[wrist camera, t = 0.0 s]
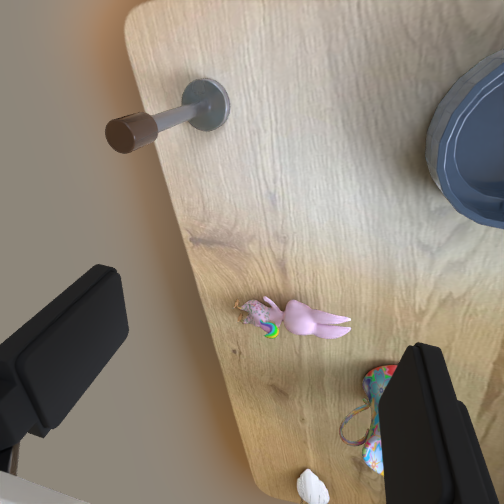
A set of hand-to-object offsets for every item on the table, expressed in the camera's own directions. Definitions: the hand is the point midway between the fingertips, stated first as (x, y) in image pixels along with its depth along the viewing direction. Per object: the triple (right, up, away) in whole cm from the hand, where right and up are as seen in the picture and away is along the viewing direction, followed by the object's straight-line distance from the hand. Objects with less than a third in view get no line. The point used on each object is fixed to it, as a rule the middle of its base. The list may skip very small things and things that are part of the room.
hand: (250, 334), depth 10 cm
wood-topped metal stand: (-4, +17, +21) cm, 28 cm away
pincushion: (+12, -44, +54) cm, 71 cm away
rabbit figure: (+5, -5, +32) cm, 33 cm away
